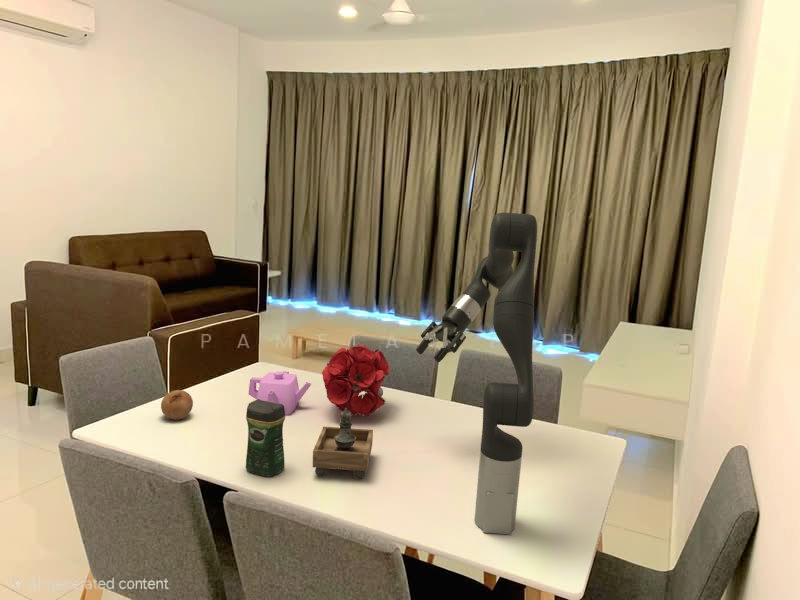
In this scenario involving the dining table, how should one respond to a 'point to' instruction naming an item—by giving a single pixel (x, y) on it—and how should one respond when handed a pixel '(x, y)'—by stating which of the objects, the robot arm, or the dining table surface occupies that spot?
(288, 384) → the teakettle
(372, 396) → the bouquet
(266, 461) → the coffee jar
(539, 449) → the dining table surface
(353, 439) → the grey stone tiered cylinder
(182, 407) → the onion
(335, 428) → the wooden serving tray
